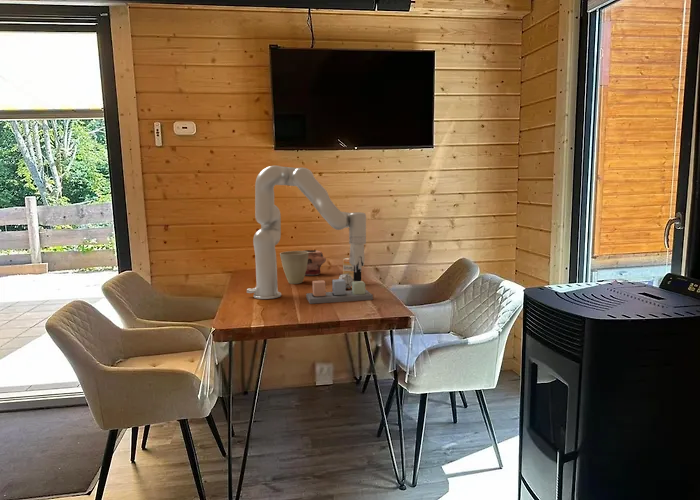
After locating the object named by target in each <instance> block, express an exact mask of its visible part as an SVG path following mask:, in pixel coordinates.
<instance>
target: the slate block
mask: <svg viewBox="0 0 700 500" xmlns="http://www.w3.org/2000/svg"><path fill="white" fill-rule="evenodd" d="M331 282H332V283H331V284H332V292H333V294H334V295H345V294H346V291H347V288H346V283H345V280H344V279H339V278H338V279H332V281H331Z"/></svg>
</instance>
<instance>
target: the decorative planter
mask: <svg viewBox="0 0 700 500" xmlns="http://www.w3.org/2000/svg"><path fill="white" fill-rule="evenodd" d="M304 251H307V252H309V254H308V263H307V268H306V273H305V276H318V275H320V274H321V267H322V265H323V264H324V263H326V260H327V259H326V257H325V256H324V255H323V252H322V251H320V250H316V249H314V250H313V249H312V250H311V249H305V250H304Z"/></svg>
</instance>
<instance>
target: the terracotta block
mask: <svg viewBox="0 0 700 500" xmlns="http://www.w3.org/2000/svg"><path fill="white" fill-rule="evenodd" d="M326 292H327V291H326V281H325V280H324V279H323V280H321V279H320V280H312V293H313V295H314V296H326Z"/></svg>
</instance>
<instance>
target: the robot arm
mask: <svg viewBox="0 0 700 500" xmlns="http://www.w3.org/2000/svg"><path fill="white" fill-rule="evenodd" d="M257 174H258V175H257V176H256V179H255V184H254V191H255V193H254V196H255V197H254V198H255V199H254V204H255V205H254V211H255V213H254V217H255V221H256V222H257V223H258V224H260V229H257V230H256V232H255V233H254V235H253V240H252V243H253V244H252V245H253V249H254V255H255V256H254V259H255V260H254V261H255V277H256V278H255V279H256V280H255V282H256V285H255V287H253V288H246V293H247V294H253V298H254V299H258V300H272V299H277V298H280V297H281V296H282V292H280V291H279V290H278V289H279V288H278V287H279V286H278V266H277V264H278V262H277V252H276V251H277V250H276V246H277V245H278V244H279V242H280V240H281V237H282V236H281V235H282V227H281V226H282V223H281V222H282V216H281V215H282V214H281V210H280V208H279V207H278V206H277V205H275V190H274V188H275V186H290V187H297V188H298V190H299V191H300V192H301V193H302V194H303V195H304V196H305V197H306V199H308V200H309V202H310V203H311V204H312V205H313V207H314V208H315V210H317V212H318V213H319V214H320V215H321V217H322V218H323V219H324V220H325V221H326V222H327V224H328V225H330V227H331V228H332V229H334V230H336V231H340V230H343V229H346V228H348V244H349V245H350V246H349V258H350V259H349V263H350V264H351V265H352V266H353V267H354V281H362V267H364V266H365V245H366V244H367V215H366V213H365V212H360V211H359V212H346V211H341V210H340V209H339V208H338V207H337V206H336V205H335V204H334V202H333V201H332V199H331V197H330V195H329V192H328V191H327V190H326V188H325V187H324V186H323V185H322V184H321V183H320V182H319V181H318V180H317V179H316V177H315V176H314V173H313V172H312V170H310V169H309V168H307V167H288V166H281V165H270V166H267V167H265V168H263V169H262V170H261V171H260V172H259V173H257Z"/></svg>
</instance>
